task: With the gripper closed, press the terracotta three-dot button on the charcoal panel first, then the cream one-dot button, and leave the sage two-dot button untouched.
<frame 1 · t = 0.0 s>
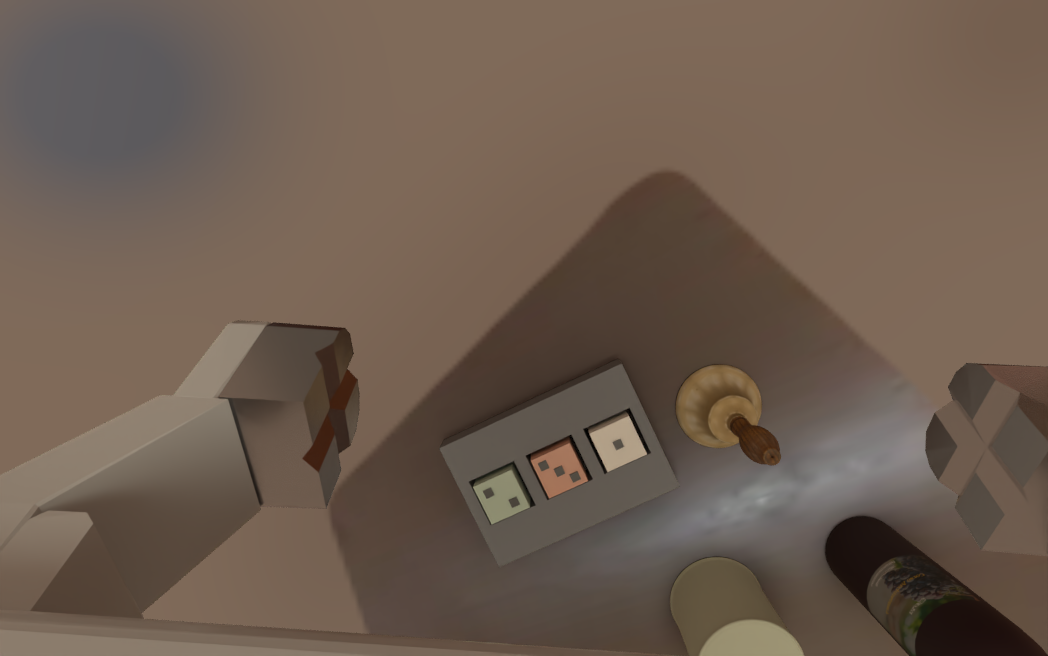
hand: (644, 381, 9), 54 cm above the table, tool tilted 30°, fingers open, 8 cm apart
wine bottle: (858, 548, 65), on the table
can: (715, 599, 66), on the table
hand bell: (717, 405, 64), on the table
button panel: (558, 457, 65), on the table
button three: (559, 467, 62), point 3 cm above the table, slide at 0.0 cm
button one: (616, 440, 61), point 3 cm above the table, slide at 0.0 cm
button two: (502, 493, 62), point 3 cm above the table, slide at 0.0 cm
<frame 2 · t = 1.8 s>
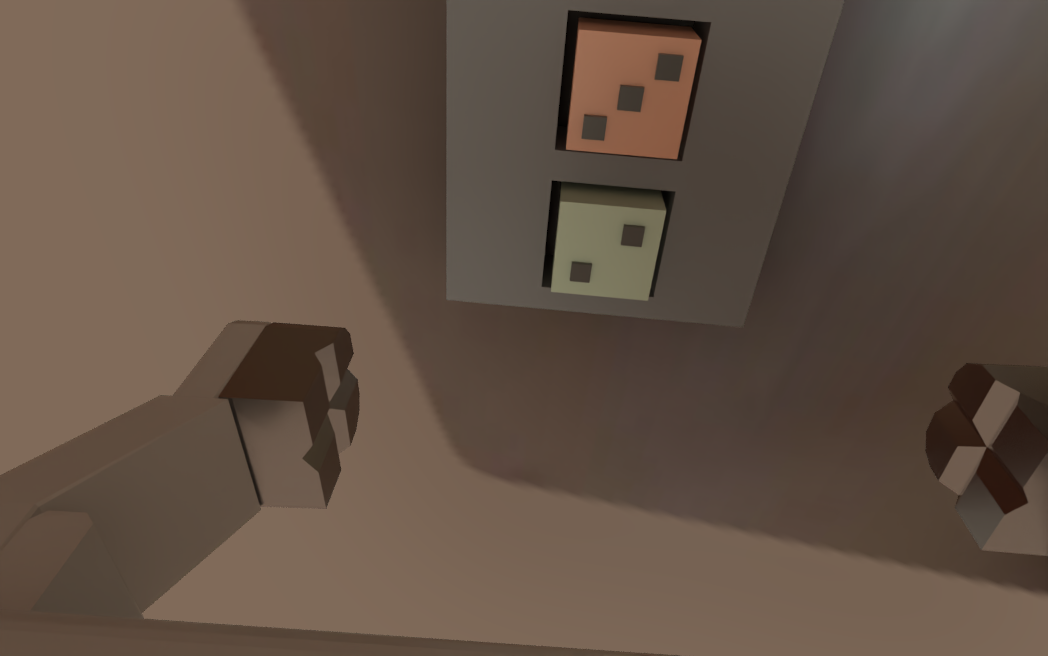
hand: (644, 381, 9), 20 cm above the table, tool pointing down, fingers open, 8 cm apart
button panel: (623, 70, 26), on the table
button three: (628, 89, 23), point 3 cm above the table, slide at 0.0 cm
button two: (605, 240, 27), point 3 cm above the table, slide at 0.0 cm
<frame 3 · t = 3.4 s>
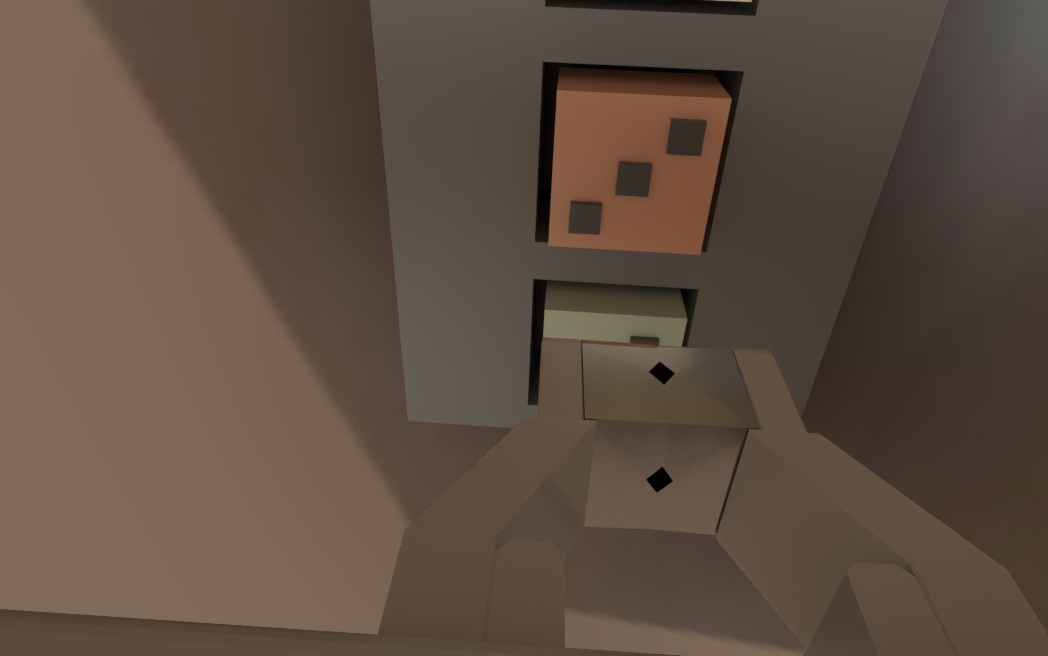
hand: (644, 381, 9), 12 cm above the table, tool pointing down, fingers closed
button panel: (624, 128, 19), on the table
button three: (630, 162, 17), point 3 cm above the table, slide at 0.0 cm
button two: (607, 349, 20), point 3 cm above the table, slide at 0.0 cm
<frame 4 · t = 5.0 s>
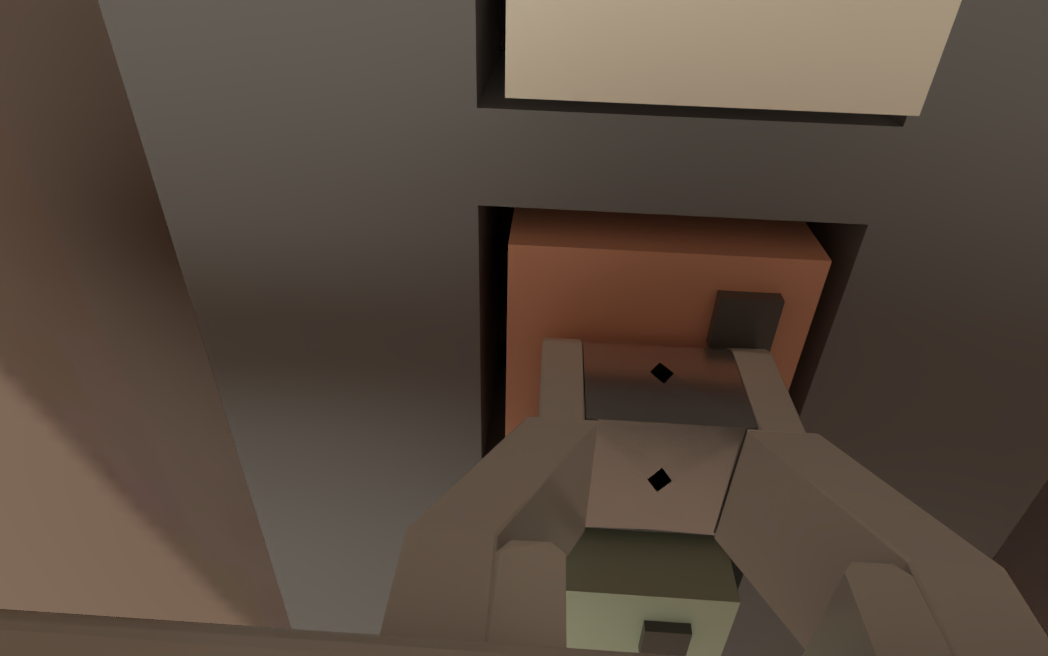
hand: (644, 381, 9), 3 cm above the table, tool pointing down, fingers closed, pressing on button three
button panel: (629, 266, 12), on the table
button three: (640, 333, 10), point 2 cm above the table, slide at 0.8 cm, touching gripper
button two: (604, 604, 13), point 3 cm above the table, slide at 0.0 cm
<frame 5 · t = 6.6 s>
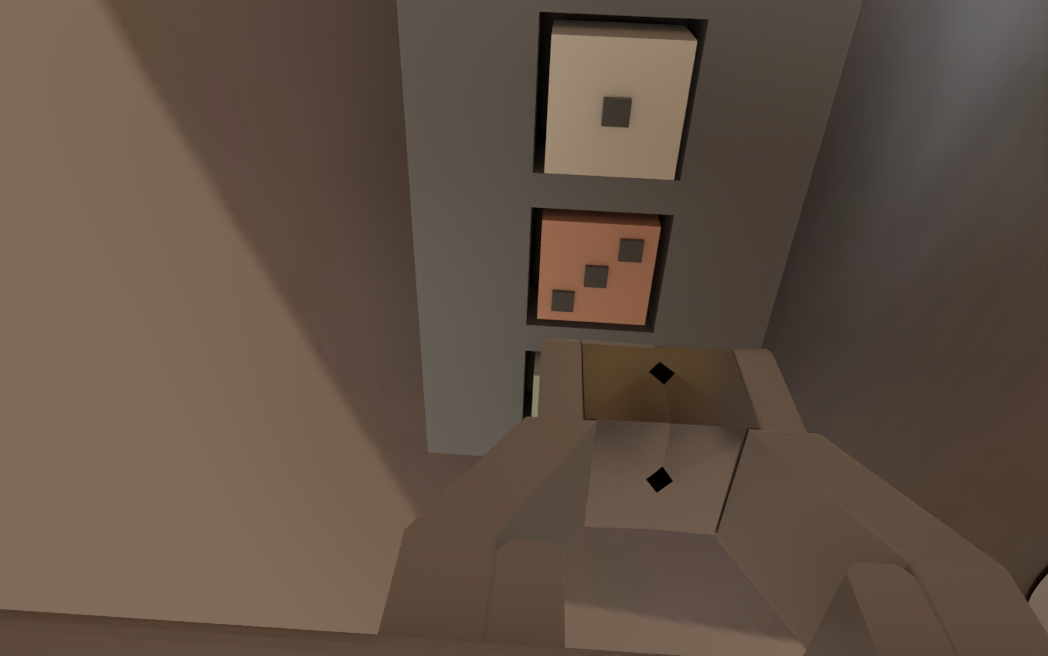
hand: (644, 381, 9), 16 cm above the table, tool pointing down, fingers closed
button panel: (593, 235, 26), on the table
button three: (594, 260, 24), point 2 cm above the table, slide at 0.9 cm
button one: (614, 100, 20), point 3 cm above the table, slide at 0.0 cm
button two: (581, 400, 27), point 3 cm above the table, slide at 0.0 cm
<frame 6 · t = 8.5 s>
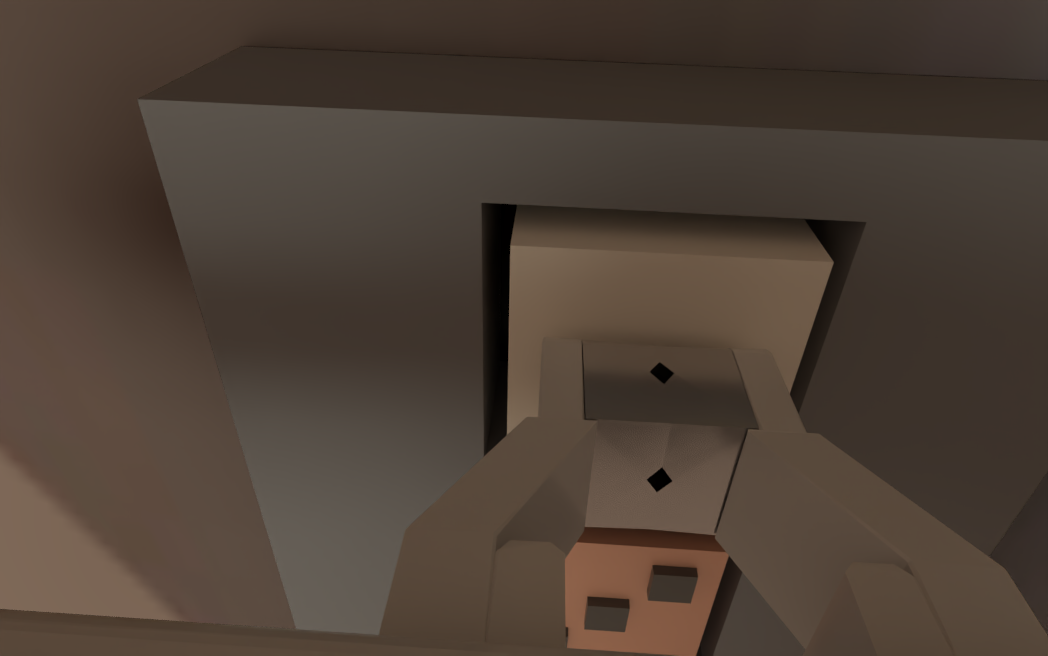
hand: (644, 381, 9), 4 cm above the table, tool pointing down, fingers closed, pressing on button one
button panel: (600, 488, 15), on the table
button three: (603, 561, 14), point 2 cm above the table, slide at 0.9 cm
button one: (641, 334, 10), point 2 cm above the table, slide at 0.7 cm, touching gripper
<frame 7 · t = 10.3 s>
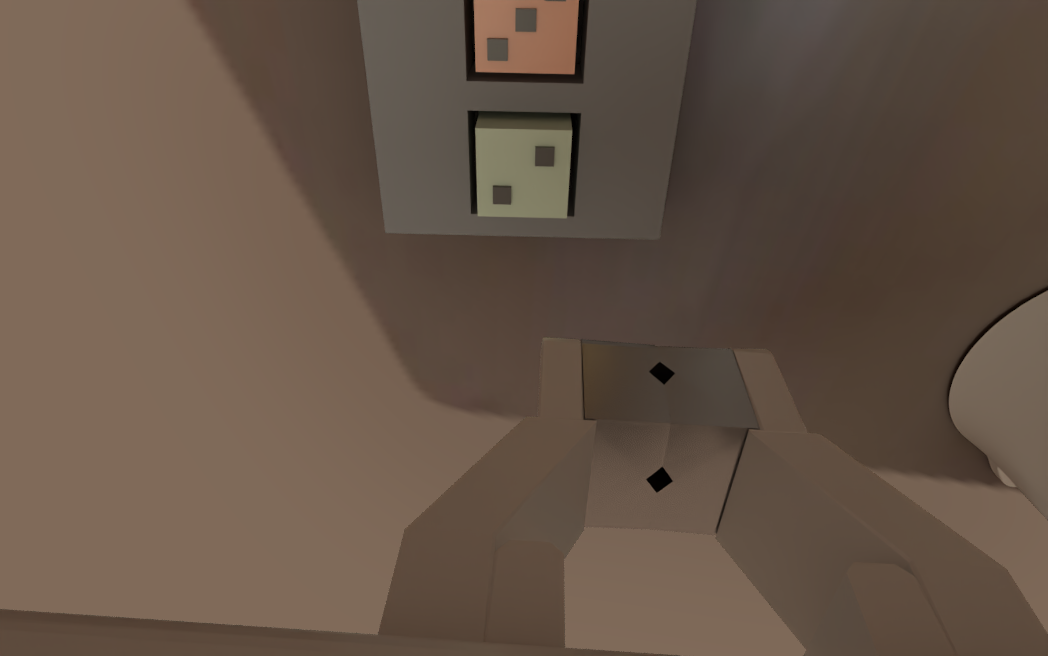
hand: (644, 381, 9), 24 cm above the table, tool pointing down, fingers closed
button panel: (527, 4, 28), on the table
button three: (526, 13, 26), point 2 cm above the table, slide at 0.9 cm
button two: (523, 165, 29), point 3 cm above the table, slide at 0.0 cm
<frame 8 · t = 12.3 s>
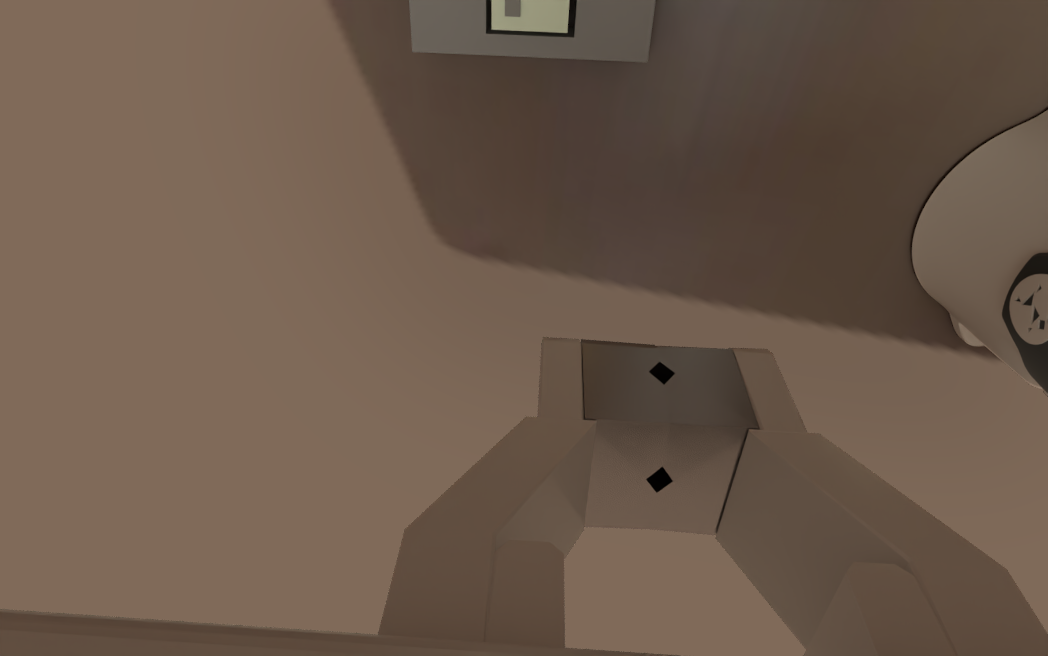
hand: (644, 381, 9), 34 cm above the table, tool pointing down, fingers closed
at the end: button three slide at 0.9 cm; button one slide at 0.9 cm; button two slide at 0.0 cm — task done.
